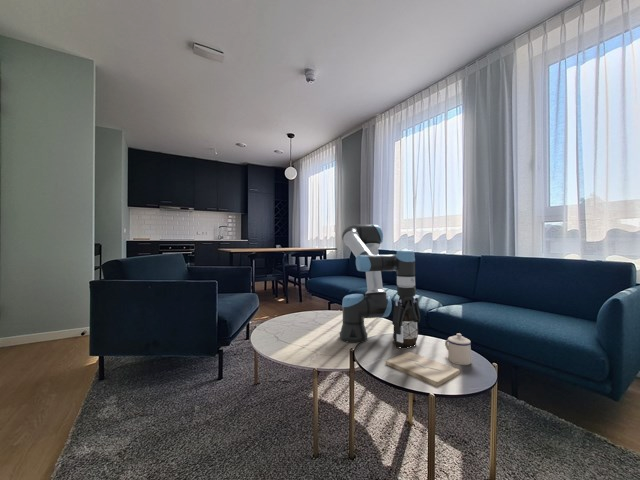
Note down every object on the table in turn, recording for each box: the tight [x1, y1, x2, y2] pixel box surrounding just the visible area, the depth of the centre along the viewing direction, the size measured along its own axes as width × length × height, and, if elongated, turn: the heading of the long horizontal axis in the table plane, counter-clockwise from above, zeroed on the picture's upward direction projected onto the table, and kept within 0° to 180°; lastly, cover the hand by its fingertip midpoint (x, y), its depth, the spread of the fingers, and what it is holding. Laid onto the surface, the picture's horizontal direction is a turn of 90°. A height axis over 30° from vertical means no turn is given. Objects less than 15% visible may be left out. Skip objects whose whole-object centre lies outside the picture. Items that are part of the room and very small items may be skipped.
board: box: [385, 351, 461, 387], centre depth 109 cm, size 23×16×2 cm
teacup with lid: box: [444, 332, 472, 366], centre depth 117 cm, size 12×9×12 cm
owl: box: [392, 307, 419, 349], centre depth 135 cm, size 13×13×20 cm
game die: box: [402, 320, 419, 341], centre depth 114 cm, size 9×8×10 cm
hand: (407, 339), depth 114 cm, fingers closed on game die, 9 cm apart
